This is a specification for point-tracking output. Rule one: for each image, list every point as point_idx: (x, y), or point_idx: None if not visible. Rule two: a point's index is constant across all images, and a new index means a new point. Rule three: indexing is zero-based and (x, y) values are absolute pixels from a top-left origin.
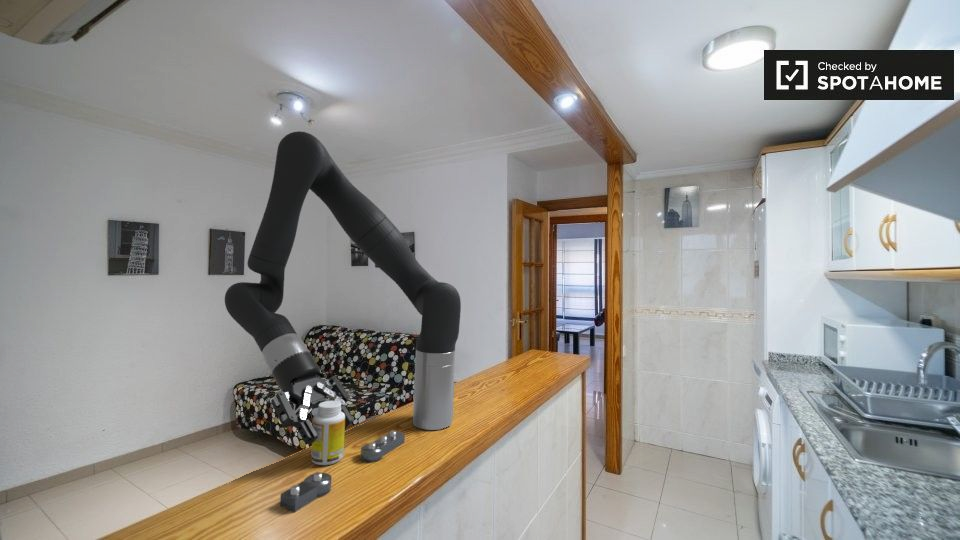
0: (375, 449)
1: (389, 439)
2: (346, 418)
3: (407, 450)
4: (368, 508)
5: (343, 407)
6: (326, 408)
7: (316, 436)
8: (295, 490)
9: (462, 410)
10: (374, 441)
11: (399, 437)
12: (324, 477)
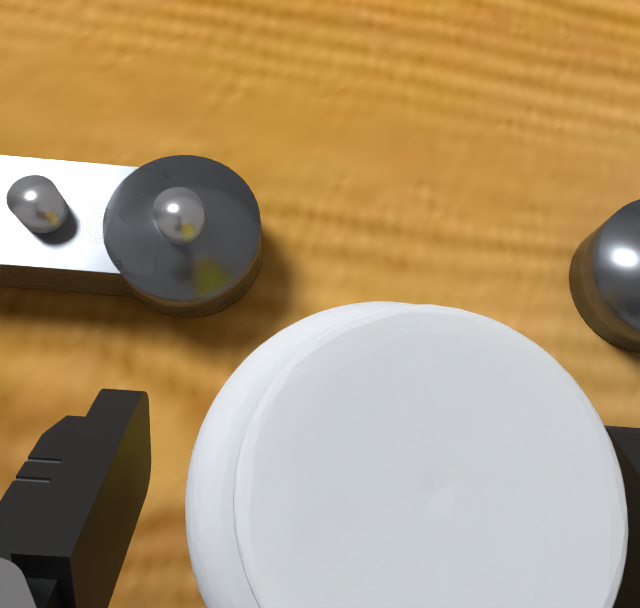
0: (196, 189)
1: (4, 188)
2: (127, 444)
3: (15, 111)
4: (601, 15)
5: (44, 532)
6: (590, 416)
7: (617, 428)
8: None
9: None
10: (76, 265)
11: None
12: (637, 246)
